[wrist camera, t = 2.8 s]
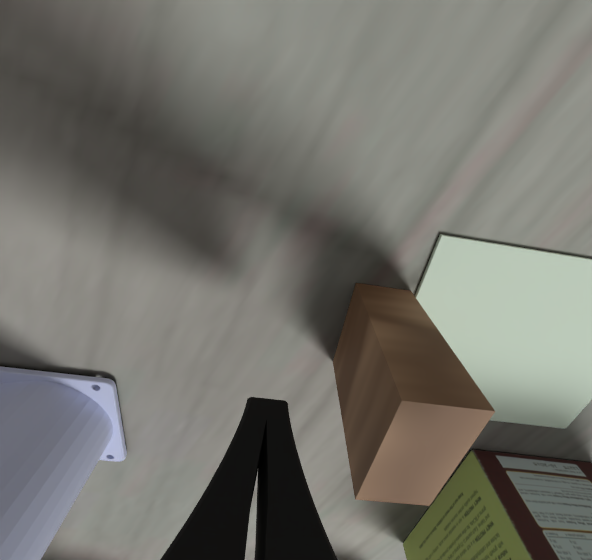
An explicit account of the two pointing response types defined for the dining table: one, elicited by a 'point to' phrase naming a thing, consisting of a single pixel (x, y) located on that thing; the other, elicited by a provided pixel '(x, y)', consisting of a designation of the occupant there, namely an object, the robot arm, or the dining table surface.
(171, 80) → the dining table surface
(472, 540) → the protein box
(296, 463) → the robot arm
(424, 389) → the block
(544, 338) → the mat
